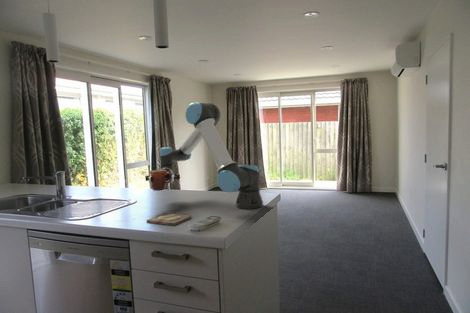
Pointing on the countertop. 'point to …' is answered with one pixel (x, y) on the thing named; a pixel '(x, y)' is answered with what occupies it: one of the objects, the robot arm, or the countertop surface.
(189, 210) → the countertop surface
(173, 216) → the board
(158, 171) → the mug
